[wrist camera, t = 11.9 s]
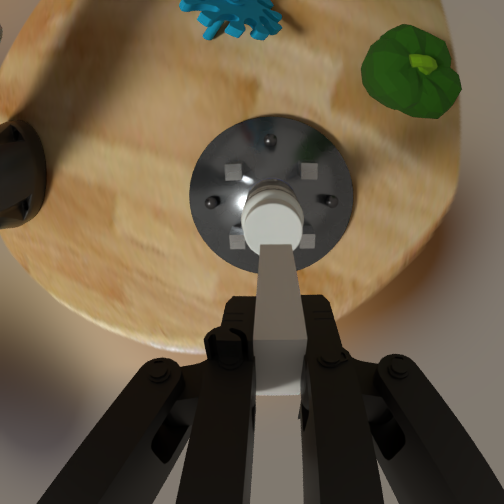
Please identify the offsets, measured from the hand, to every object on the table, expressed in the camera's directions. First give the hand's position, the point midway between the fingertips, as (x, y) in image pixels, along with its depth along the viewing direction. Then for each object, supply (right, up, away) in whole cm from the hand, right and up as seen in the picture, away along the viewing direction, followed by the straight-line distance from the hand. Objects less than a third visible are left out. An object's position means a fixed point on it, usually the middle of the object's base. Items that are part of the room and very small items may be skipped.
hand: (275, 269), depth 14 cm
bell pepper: (+12, +18, +7) cm, 23 cm away
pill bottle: (+1, +6, +12) cm, 14 cm away
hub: (+1, +6, +13) cm, 14 cm away
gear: (-3, +24, +5) cm, 25 cm away
